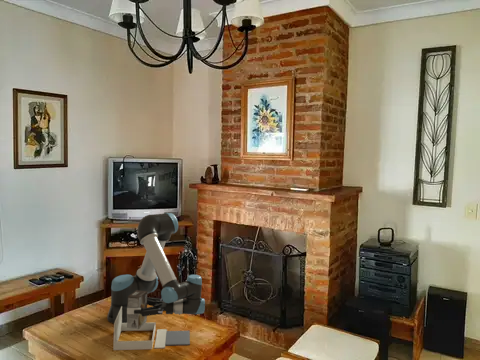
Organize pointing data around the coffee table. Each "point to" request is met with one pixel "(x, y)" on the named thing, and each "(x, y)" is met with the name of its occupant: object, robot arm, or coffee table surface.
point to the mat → (177, 338)
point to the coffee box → (137, 301)
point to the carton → (137, 344)
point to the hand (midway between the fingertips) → (128, 306)
